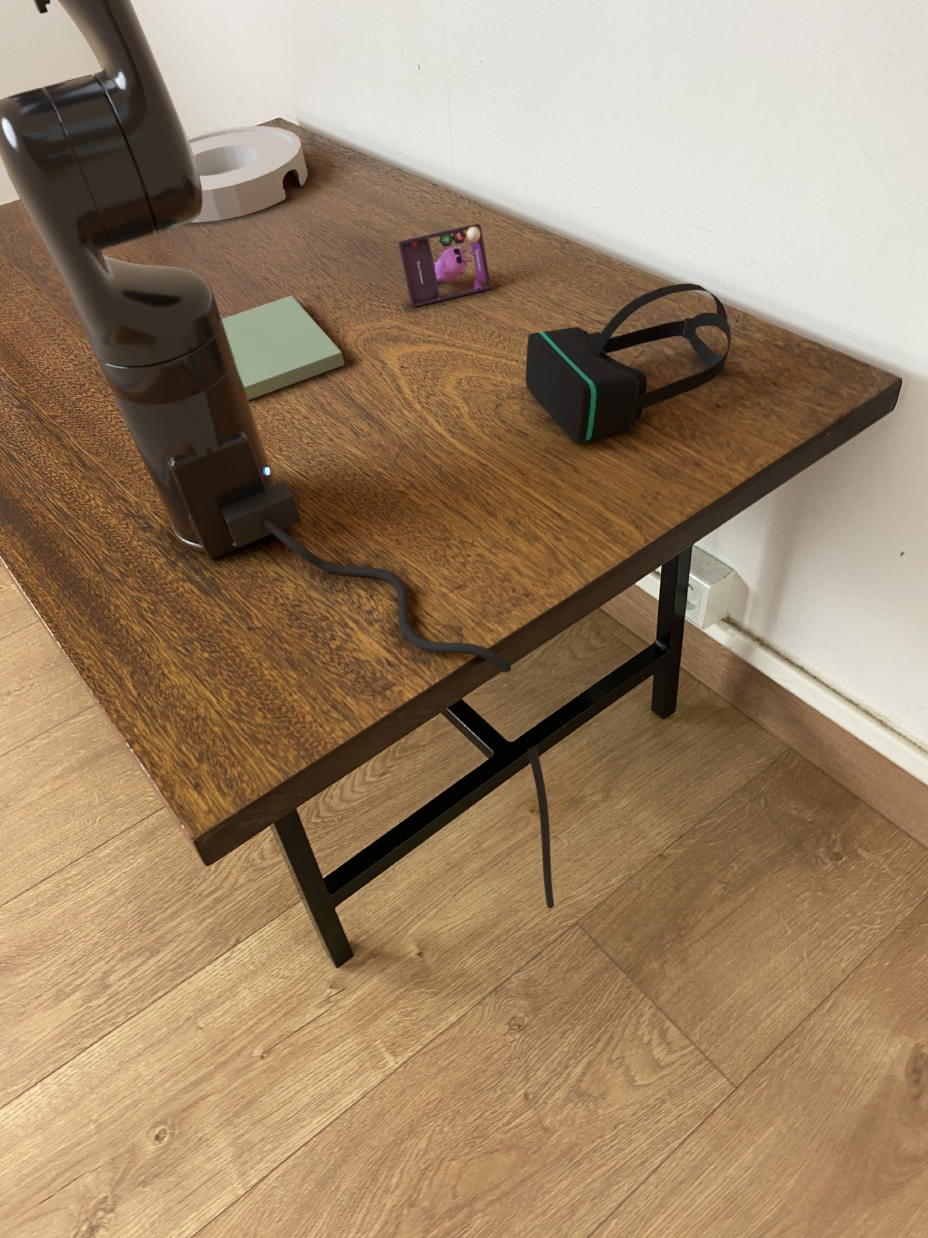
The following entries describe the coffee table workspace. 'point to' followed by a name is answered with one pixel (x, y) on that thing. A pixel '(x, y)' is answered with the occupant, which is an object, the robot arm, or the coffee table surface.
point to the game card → (442, 264)
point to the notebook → (279, 346)
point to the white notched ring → (245, 169)
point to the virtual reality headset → (611, 369)
